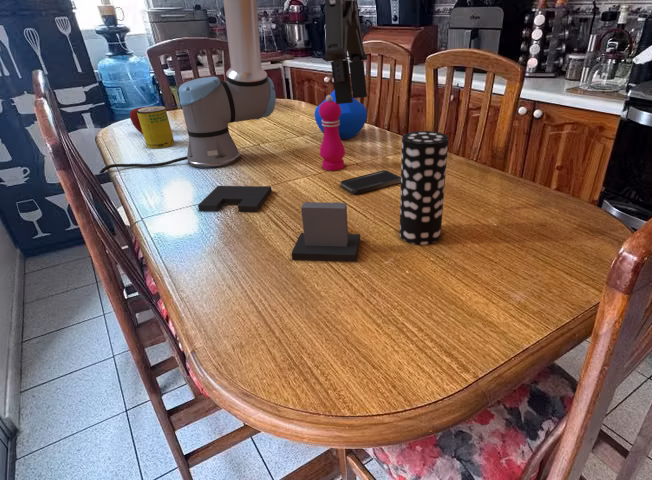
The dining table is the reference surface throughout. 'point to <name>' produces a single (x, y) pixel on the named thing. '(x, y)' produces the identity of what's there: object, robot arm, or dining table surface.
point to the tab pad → (327, 250)
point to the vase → (346, 118)
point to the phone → (370, 182)
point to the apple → (136, 119)
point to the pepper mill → (331, 136)
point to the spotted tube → (422, 186)
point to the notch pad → (236, 198)
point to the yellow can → (155, 127)
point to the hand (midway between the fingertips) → (353, 100)
